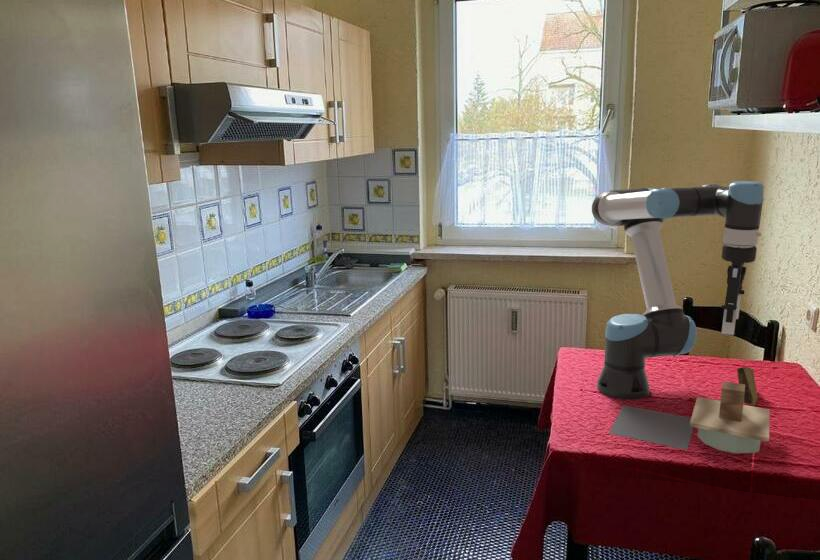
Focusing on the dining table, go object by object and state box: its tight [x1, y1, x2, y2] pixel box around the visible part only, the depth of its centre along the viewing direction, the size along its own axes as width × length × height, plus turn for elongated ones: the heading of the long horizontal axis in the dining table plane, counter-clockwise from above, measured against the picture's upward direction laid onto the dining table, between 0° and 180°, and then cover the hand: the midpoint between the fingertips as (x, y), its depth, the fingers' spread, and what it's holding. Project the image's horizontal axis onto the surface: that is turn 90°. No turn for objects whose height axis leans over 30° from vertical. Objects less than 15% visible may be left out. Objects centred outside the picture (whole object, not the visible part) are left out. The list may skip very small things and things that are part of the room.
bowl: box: [697, 428, 762, 455], centre depth 156 cm, size 14×14×6 cm
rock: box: [736, 366, 759, 406], centre depth 181 cm, size 11×9×10 cm
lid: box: [690, 380, 771, 443], centre depth 154 cm, size 17×17×9 cm
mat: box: [608, 405, 694, 451], centre depth 165 cm, size 19×19×1 cm
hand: (730, 325), depth 158 cm, fingers open, 13 cm apart
